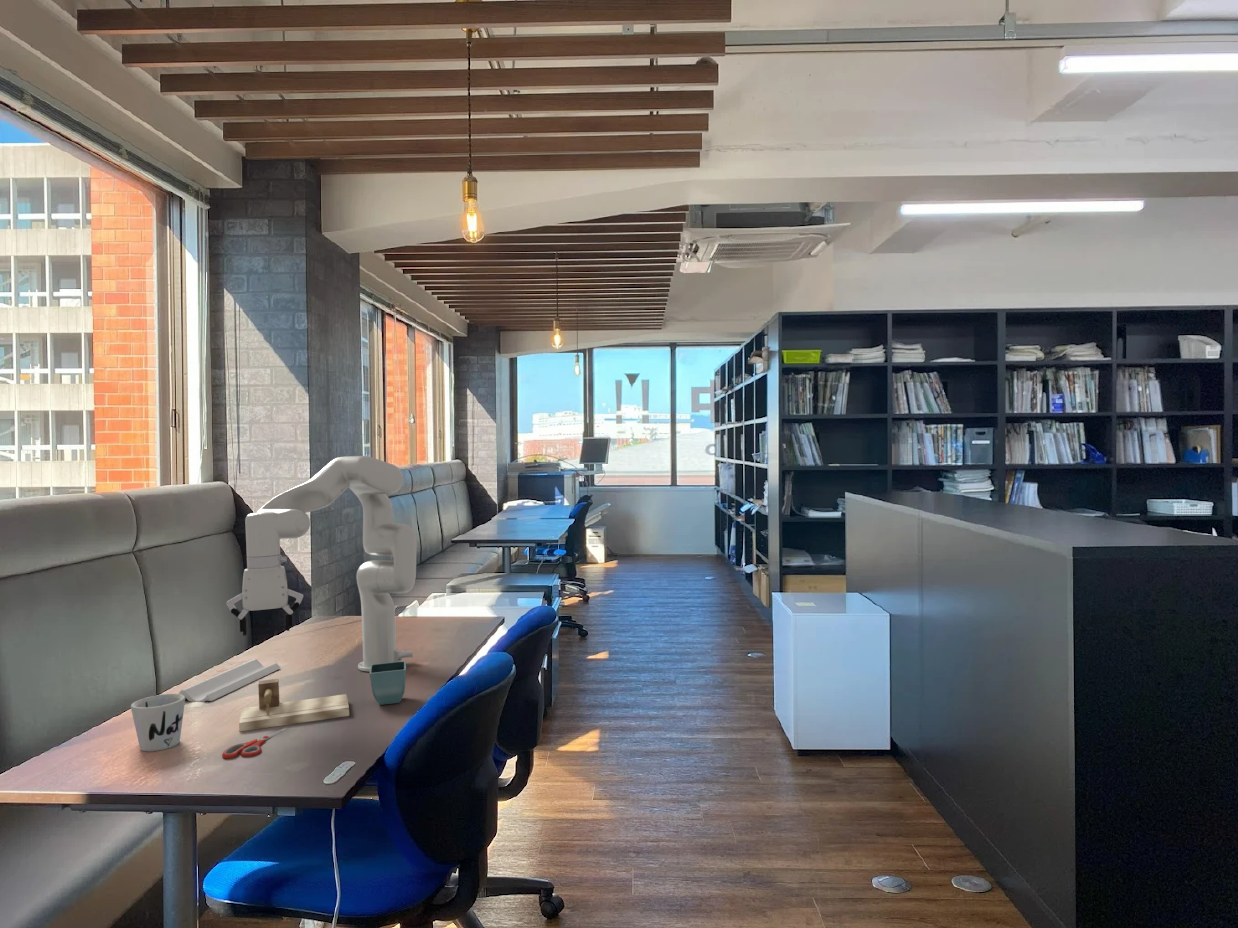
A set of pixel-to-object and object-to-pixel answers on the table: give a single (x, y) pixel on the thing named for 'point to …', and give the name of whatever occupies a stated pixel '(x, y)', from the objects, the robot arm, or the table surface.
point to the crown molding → (227, 681)
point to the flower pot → (388, 682)
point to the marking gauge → (268, 694)
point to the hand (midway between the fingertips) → (266, 632)
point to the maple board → (294, 712)
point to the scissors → (248, 747)
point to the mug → (158, 721)
